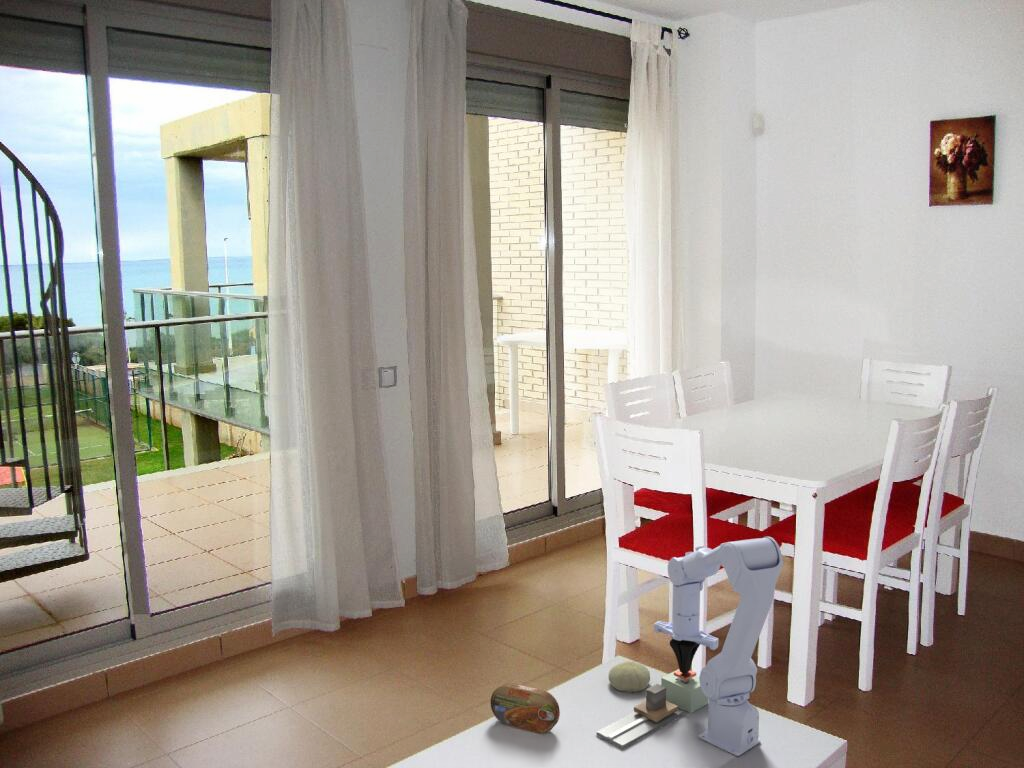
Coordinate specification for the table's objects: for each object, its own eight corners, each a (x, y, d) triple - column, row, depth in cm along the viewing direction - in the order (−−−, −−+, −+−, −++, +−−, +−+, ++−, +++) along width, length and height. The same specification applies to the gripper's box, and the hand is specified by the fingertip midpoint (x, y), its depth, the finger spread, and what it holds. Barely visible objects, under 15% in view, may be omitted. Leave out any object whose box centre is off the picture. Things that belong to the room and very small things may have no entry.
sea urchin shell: (598, 671, 207) (621, 644, 208) (621, 690, 209) (643, 664, 210) (615, 690, 198) (638, 661, 199) (638, 709, 201) (661, 681, 202)
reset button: (696, 682, 196) (696, 672, 196) (686, 687, 194) (686, 677, 193) (683, 676, 198) (683, 667, 198) (673, 682, 196) (673, 672, 196)
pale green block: (708, 703, 196) (708, 681, 195) (690, 713, 192) (691, 690, 191) (678, 690, 202) (678, 668, 201) (661, 699, 198) (661, 677, 197)
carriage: (677, 710, 190) (678, 688, 190) (656, 722, 186) (656, 699, 185) (655, 700, 195) (655, 678, 194) (633, 711, 190) (634, 688, 189)
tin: (489, 721, 190) (489, 683, 189) (497, 714, 193) (496, 676, 191) (555, 738, 183) (555, 699, 182) (561, 731, 186) (561, 692, 184)
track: (683, 715, 191) (683, 710, 191) (622, 749, 178) (622, 743, 178) (657, 703, 196) (657, 698, 196) (596, 735, 184) (596, 729, 183)
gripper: (646, 608, 195) (646, 668, 197) (707, 626, 186) (706, 688, 188) (663, 598, 201) (663, 656, 203) (723, 615, 191) (722, 675, 193)
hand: (684, 671), depth 196 cm, fingers closed
